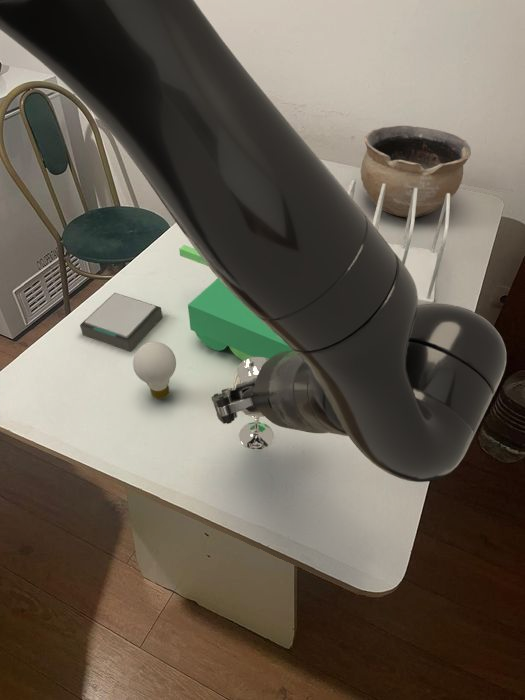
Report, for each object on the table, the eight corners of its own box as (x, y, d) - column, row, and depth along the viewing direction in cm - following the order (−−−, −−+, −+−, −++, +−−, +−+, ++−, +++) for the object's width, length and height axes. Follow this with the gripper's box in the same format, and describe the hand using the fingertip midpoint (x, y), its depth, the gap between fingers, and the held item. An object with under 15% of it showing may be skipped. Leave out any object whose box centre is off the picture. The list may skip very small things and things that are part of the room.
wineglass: (279, 455, 64) (283, 391, 55) (232, 454, 64) (230, 389, 55) (278, 418, 68) (283, 353, 60) (235, 417, 68) (233, 352, 60)
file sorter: (435, 258, 104) (457, 185, 93) (431, 311, 92) (455, 235, 81) (314, 238, 108) (320, 167, 97) (294, 286, 96) (300, 211, 85)
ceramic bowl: (350, 224, 113) (360, 157, 102) (358, 180, 128) (368, 118, 117) (454, 237, 109) (475, 169, 99) (450, 190, 125) (468, 127, 114)
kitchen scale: (130, 351, 83) (127, 339, 81) (82, 334, 86) (78, 322, 84) (162, 316, 90) (160, 304, 88) (117, 302, 92) (114, 290, 90)
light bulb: (136, 387, 78) (125, 339, 71) (174, 376, 79) (167, 328, 72) (146, 416, 74) (135, 368, 67) (185, 404, 76) (179, 356, 69)
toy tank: (210, 219, 90) (402, 282, 77) (214, 276, 98) (387, 342, 86) (144, 268, 79) (355, 352, 66) (155, 328, 87) (343, 412, 75)
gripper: (362, 326, 48) (292, 341, 64) (223, 375, 44) (184, 379, 59) (386, 401, 49) (311, 398, 65) (250, 458, 44) (205, 440, 60)
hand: (250, 389), depth 62 cm, fingers closed on wineglass, 5 cm apart
